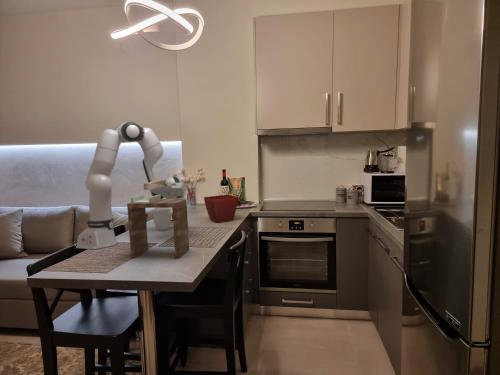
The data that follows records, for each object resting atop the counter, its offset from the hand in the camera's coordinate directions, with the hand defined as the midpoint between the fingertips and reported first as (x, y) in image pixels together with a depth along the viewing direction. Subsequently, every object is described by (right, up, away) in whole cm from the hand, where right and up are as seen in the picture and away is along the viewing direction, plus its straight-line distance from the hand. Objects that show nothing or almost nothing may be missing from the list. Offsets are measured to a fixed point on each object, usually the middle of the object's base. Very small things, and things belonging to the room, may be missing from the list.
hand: (161, 182), depth 186 cm
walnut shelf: (+4, -35, -17) cm, 39 cm away
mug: (-7, -30, +38) cm, 49 cm away
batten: (-1, -3, -6) cm, 7 cm away
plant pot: (+27, -26, +59) cm, 70 cm away
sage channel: (-3, -10, -18) cm, 20 cm away
